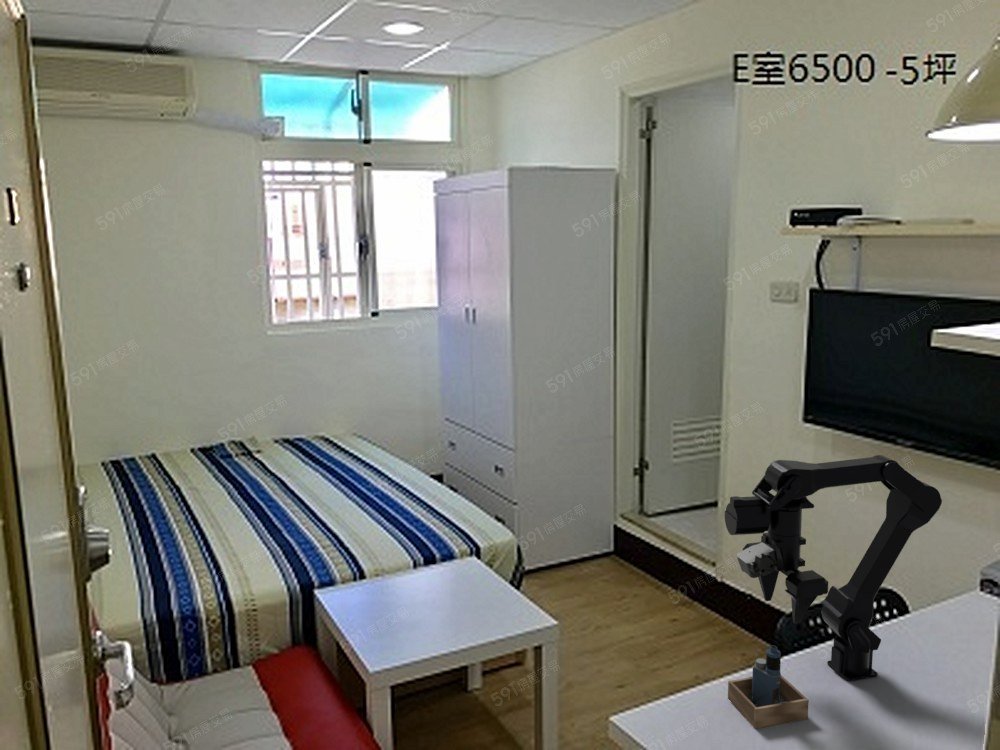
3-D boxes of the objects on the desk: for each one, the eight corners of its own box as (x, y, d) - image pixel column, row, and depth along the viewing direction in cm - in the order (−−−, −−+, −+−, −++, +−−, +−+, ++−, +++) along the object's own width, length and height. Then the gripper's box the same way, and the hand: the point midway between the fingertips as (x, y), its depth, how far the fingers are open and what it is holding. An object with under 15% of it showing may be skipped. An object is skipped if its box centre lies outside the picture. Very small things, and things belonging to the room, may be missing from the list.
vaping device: (772, 716, 135) (774, 652, 133) (748, 701, 139) (750, 639, 137) (782, 712, 136) (784, 647, 134) (759, 697, 141) (760, 635, 139)
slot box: (777, 690, 143) (778, 672, 142) (807, 718, 134) (808, 699, 133) (727, 699, 140) (728, 681, 140) (755, 728, 132) (755, 709, 131)
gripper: (718, 518, 149) (716, 595, 152) (773, 555, 131) (771, 642, 134) (770, 512, 152) (768, 588, 155) (832, 547, 134) (828, 632, 137)
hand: (781, 611), depth 145 cm, fingers open, 9 cm apart
